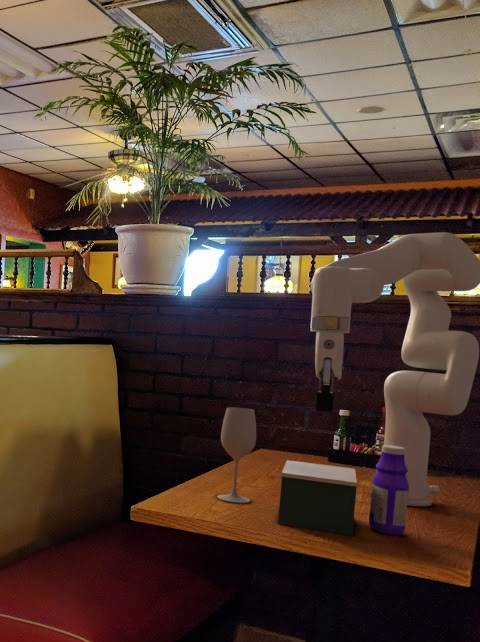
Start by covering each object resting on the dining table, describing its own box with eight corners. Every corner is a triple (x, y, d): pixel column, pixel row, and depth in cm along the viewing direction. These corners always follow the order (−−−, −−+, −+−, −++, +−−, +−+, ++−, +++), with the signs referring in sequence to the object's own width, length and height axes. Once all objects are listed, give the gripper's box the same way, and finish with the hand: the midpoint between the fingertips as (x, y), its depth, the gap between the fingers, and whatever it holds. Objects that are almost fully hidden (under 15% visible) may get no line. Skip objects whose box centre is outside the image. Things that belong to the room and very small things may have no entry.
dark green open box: (352, 535, 147) (356, 486, 147) (278, 523, 153) (281, 476, 153) (350, 517, 162) (354, 472, 162) (283, 507, 168) (286, 463, 168)
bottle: (410, 537, 148) (418, 450, 147) (381, 535, 148) (389, 448, 147) (390, 527, 155) (397, 444, 155) (363, 525, 156) (369, 442, 155)
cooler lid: (356, 486, 146) (357, 482, 146) (281, 476, 152) (281, 472, 152) (354, 472, 162) (354, 468, 162) (286, 463, 168) (286, 460, 168)
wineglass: (234, 504, 168) (241, 411, 167) (209, 496, 174) (216, 407, 173) (258, 502, 171) (265, 411, 170) (232, 494, 178) (239, 406, 177)
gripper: (350, 326, 151) (344, 417, 152) (349, 326, 164) (343, 409, 165) (309, 324, 154) (303, 413, 155) (311, 324, 167) (306, 405, 168)
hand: (324, 410), depth 160 cm, fingers closed
